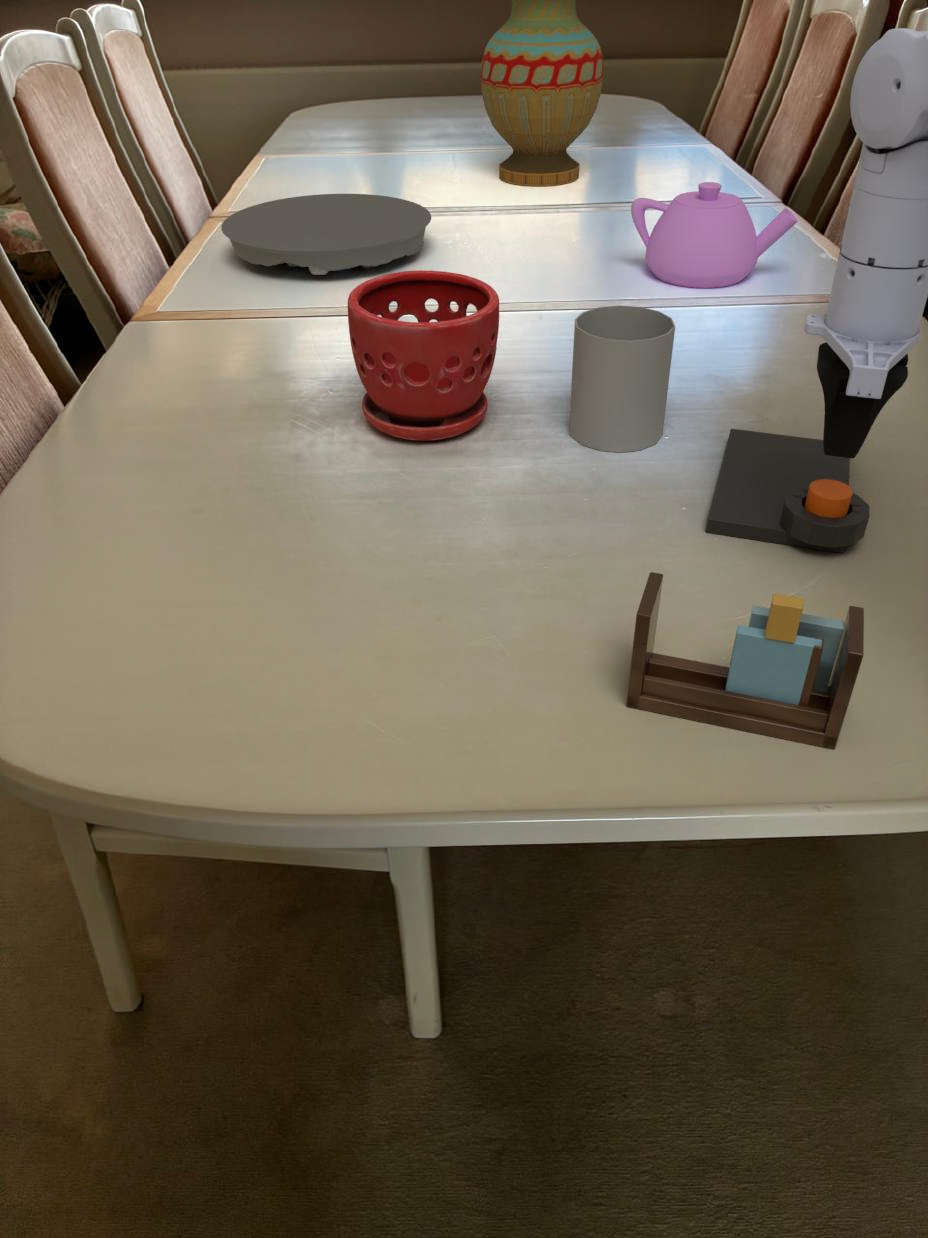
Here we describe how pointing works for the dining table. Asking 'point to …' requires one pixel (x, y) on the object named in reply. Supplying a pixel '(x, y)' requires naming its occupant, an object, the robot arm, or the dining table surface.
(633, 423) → the cup
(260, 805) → the dining table surface
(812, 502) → the button
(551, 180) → the vase
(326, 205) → the flat disc
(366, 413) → the flower pot
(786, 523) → the button block
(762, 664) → the pane
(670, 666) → the brown wooden rack
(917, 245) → the robot arm
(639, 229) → the teapot
